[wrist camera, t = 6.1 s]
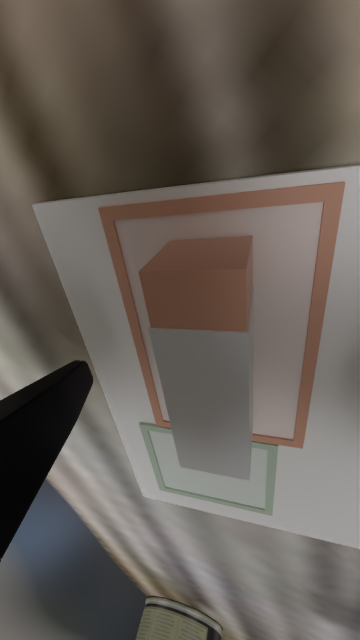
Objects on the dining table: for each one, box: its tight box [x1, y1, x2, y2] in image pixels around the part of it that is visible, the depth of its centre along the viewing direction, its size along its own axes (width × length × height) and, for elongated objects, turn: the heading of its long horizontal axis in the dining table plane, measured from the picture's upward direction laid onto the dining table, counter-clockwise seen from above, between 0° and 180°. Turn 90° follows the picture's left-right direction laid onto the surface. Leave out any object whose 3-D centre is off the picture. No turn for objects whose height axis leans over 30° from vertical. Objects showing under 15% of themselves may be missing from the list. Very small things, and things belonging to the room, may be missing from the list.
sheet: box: [31, 164, 360, 549], centre depth 12 cm, size 19×16×1 cm
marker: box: [139, 236, 254, 481], centre depth 9 cm, size 8×3×3 cm, turn 8°
